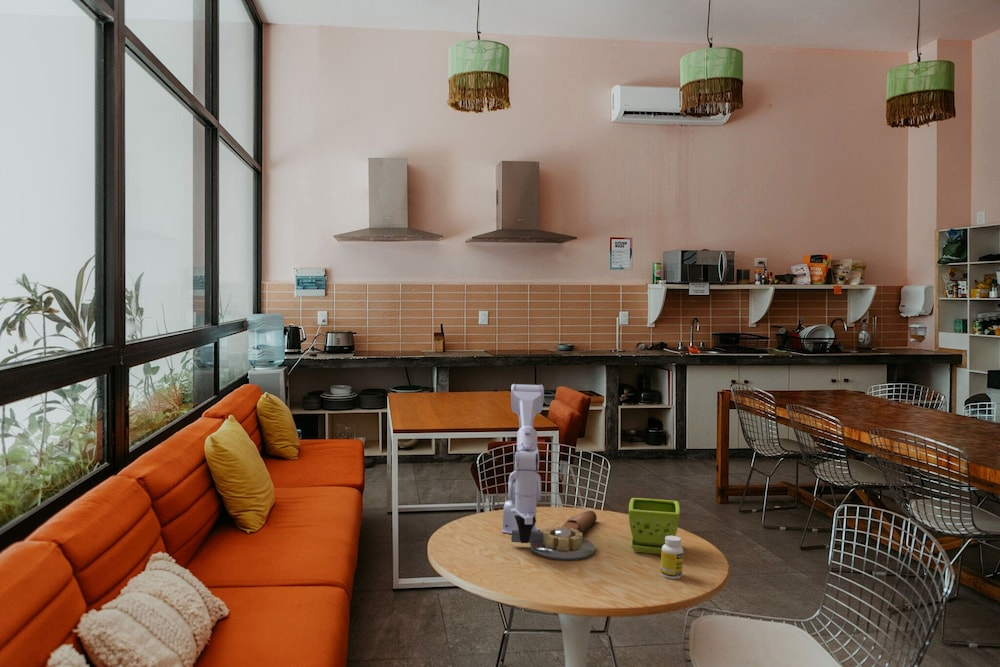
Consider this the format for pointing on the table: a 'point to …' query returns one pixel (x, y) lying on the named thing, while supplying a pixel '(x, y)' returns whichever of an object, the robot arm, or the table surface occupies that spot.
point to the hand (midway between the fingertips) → (524, 542)
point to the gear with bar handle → (553, 539)
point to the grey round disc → (570, 555)
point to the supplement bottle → (672, 558)
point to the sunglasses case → (581, 521)
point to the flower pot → (652, 523)
